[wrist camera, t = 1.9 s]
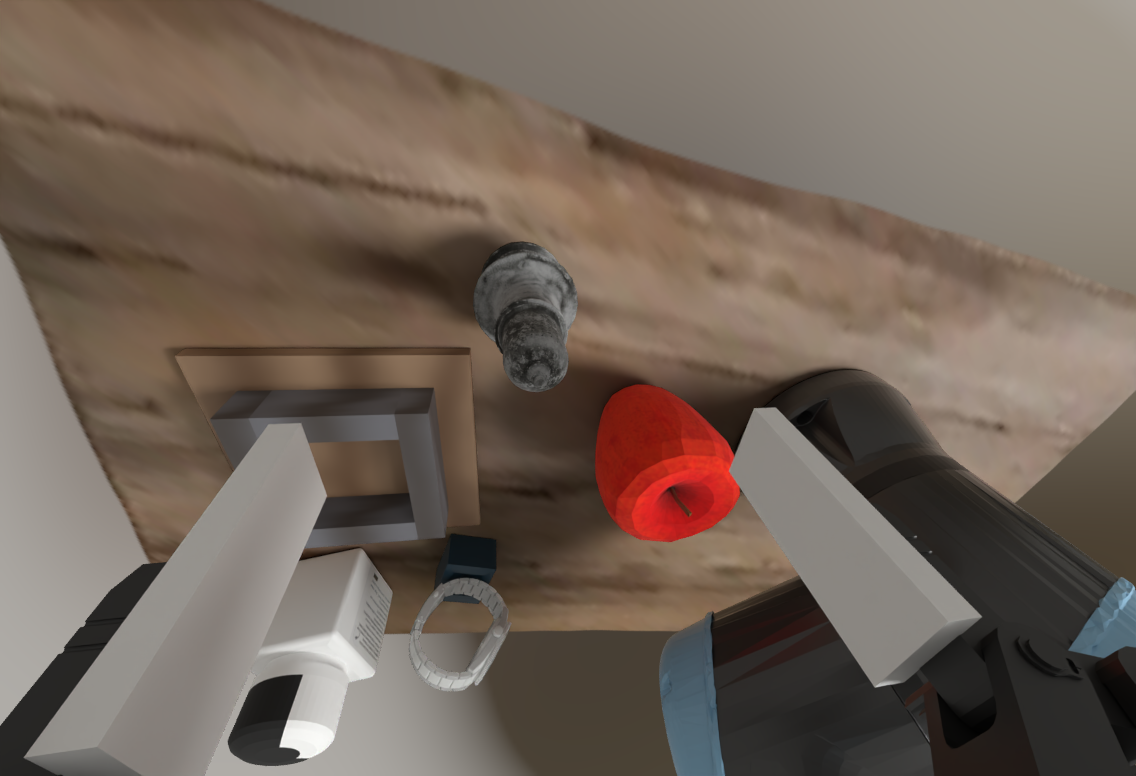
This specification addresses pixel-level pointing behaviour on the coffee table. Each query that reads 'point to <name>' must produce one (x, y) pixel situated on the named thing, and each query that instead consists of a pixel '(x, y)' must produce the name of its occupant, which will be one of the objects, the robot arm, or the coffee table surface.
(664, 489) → the apple
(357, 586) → the container
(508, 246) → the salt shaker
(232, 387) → the holder
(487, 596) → the watch
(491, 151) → the coffee table surface
